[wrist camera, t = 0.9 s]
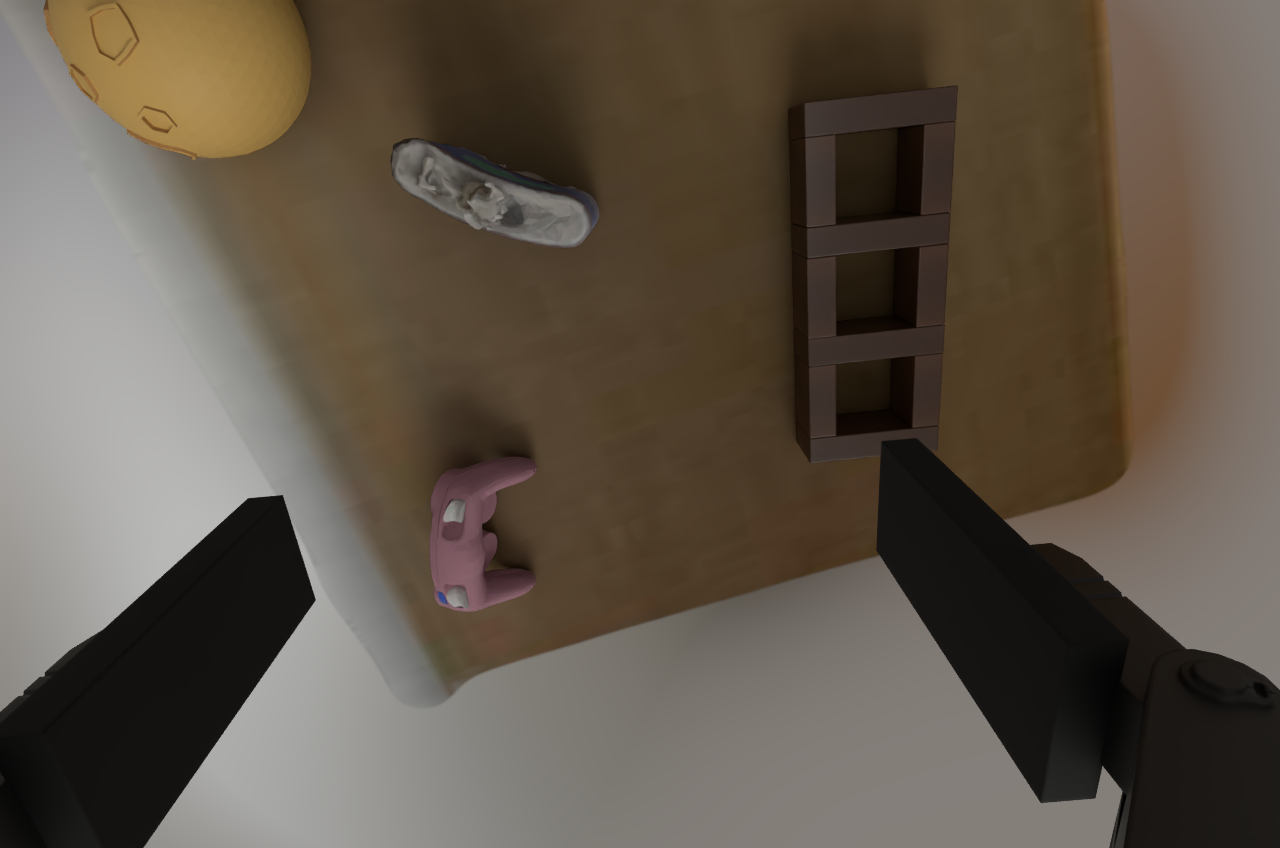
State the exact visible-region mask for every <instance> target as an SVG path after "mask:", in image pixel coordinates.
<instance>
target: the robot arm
mask: <svg viewBox="0 0 1280 848" xmlns="http://www.w3.org/2000/svg"><path fill="white" fill-rule="evenodd" d="M876 550H877V552H878V553H879V555H880V556H881V558H882V559H883V561H884V562H885V564H886V566H887V567H888V569H889V570H890V572H891V573H892V575H893V576H894V578H895V579H896V581H897V583H898V584H899V585H900V587H901V589H902V590H903V592H904V593H905V595H906V596H907V597H908V599H909V601H910V603H911V604H912V605H913V607H914V609H915V610H916V612H917V613H918V615H919V616H920V618H921V619H922V621H923V622H924V624H925V625H926V627H927V629H928V630H929V632H930V633H931V635H932V636H933V638H934V639H935V641H936V642H937V644H938V645H939V647H940V649H941V650H942V652H943V653H944V655H945V656H946V658H947V659H948V661H949V662H950V664H951V666H952V667H953V669H954V670H955V672H956V673H957V675H958V676H959V678H960V679H961V681H962V682H963V684H964V686H965V687H966V689H967V690H968V692H969V693H970V695H971V696H972V698H973V699H974V701H975V702H976V704H977V705H978V707H979V709H980V710H981V712H982V713H983V715H984V716H985V718H986V719H987V721H988V722H989V724H990V725H991V727H992V729H993V730H994V732H995V733H996V735H997V736H998V738H999V739H1000V741H1001V742H1002V744H1003V745H1004V747H1005V749H1006V750H1007V752H1008V753H1009V755H1010V756H1011V758H1012V759H1013V761H1014V762H1015V764H1016V765H1017V767H1018V769H1019V770H1020V772H1021V773H1022V775H1023V776H1024V778H1025V779H1026V781H1027V782H1028V784H1029V785H1030V787H1031V789H1032V790H1033V791H1034V793H1035V795H1036V796H1037V798H1038V799H1039V801H1040V802H1041V803H1045V802H1046V803H1047V802H1057V801H1070V800H1082V799H1093V798H1096V793H1097V788H1098V783H1099V779H1100V775H1101V770H1102V766H1103V767H1104V768H1105V769H1106V771H1107V772H1108V773H1109V774H1110V776H1111V777H1112V778H1113V779H1114V781H1115V782H1116V783H1117V784H1118V786H1119V787H1120V788H1121V790H1122V791H1123V792H1122V796H1121V800H1120V805H1119V809H1118V813H1117V818H1116V822H1115V826H1114V830H1113V834H1112V839H1111V843H1110V848H1280V690H1279V689H1278V688H1277V687H1276V686H1275V685H1274V684H1273V683H1272V682H1271V681H1270V680H1269V679H1268V678H1266V677H1265V676H1264V675H1262V674H1260V673H1259V672H1257V671H1255V670H1254V669H1252V668H1250V667H1248V666H1247V665H1245V664H1243V663H1240V662H1238V661H1235V660H1233V659H1230V658H1227V657H1225V656H1222V655H1219V654H1215V653H1210V652H1205V651H1200V650H1195V649H1185V647H1183V646H1182V645H1181V644H1180V643H1179V642H1178V641H1177V640H1175V639H1174V638H1173V637H1172V636H1171V635H1170V634H1168V633H1167V632H1166V631H1165V630H1163V628H1161V627H1160V626H1159V625H1158V624H1157V623H1156V622H1155V621H1154V620H1152V619H1151V618H1150V617H1149V616H1148V615H1147V614H1145V613H1144V612H1143V611H1142V610H1141V609H1140V608H1139V607H1137V606H1136V605H1135V604H1134V603H1133V602H1132V601H1130V600H1129V599H1128V598H1127V597H1122V595H1121V592H1120V591H1119V590H1118V589H1117V588H1115V587H1114V586H1113V585H1112V584H1111V583H1110V582H1109V581H1104V579H1103V576H1102V575H1101V574H1099V573H1098V572H1097V571H1096V570H1095V569H1094V568H1092V567H1091V566H1090V565H1089V564H1088V563H1087V562H1085V561H1084V560H1083V559H1082V558H1080V557H1078V556H1076V555H1074V554H1072V553H1070V552H1068V551H1066V550H1064V549H1062V548H1060V547H1058V546H1056V545H1054V544H1052V543H1046V544H1035V545H1029V544H1028V543H1027V542H1026V541H1025V540H1024V539H1023V538H1022V537H1021V536H1020V535H1019V534H1018V533H1017V532H1016V531H1015V530H1013V529H1012V528H1011V527H1010V526H1009V525H1008V524H1007V523H1006V522H1005V521H1004V520H1003V519H1002V518H1001V517H1000V516H999V515H998V514H997V513H996V512H994V511H993V510H992V509H991V508H990V507H989V506H988V505H987V504H986V503H985V502H984V501H983V500H982V499H981V498H980V497H979V496H978V495H977V494H975V493H974V492H973V491H972V490H971V489H970V488H969V487H968V486H967V485H966V484H965V483H964V482H963V481H962V480H961V479H960V478H959V477H957V476H956V475H955V474H954V473H953V472H952V471H951V470H950V469H949V468H948V467H947V466H946V465H945V464H944V463H943V462H942V461H941V460H940V459H938V458H937V457H936V456H935V455H934V454H933V453H932V452H931V451H930V450H929V449H928V448H927V447H926V446H925V445H924V444H923V443H922V442H920V441H919V440H918V439H917V438H910V439H899V440H888V441H881V461H880V483H879V505H878V527H877V549H876ZM315 600H316V599H315V596H314V593H313V590H312V587H311V583H310V580H309V577H308V574H307V571H306V568H305V564H304V561H303V558H302V555H301V552H300V549H299V545H298V542H297V539H296V536H295V533H294V530H293V526H292V523H291V520H290V517H289V513H288V510H287V507H286V504H285V501H284V498H283V495H280V496H269V497H258V498H248V499H247V500H246V501H245V502H244V503H242V504H241V505H240V506H239V507H238V508H237V509H236V510H235V511H234V512H233V513H231V514H230V515H229V516H228V517H227V518H226V519H225V520H224V521H223V522H221V523H220V524H219V525H218V526H217V527H216V528H215V529H214V530H213V531H212V532H210V533H209V534H208V535H207V536H206V537H205V538H204V539H203V540H202V541H201V542H199V543H198V544H197V545H196V546H195V547H194V548H193V549H192V550H191V551H190V552H188V553H187V554H186V555H185V556H184V557H183V558H182V559H181V560H180V561H178V562H177V563H176V564H175V565H174V566H173V567H172V568H171V569H170V570H169V571H167V572H166V573H165V574H164V575H163V576H162V577H161V578H160V579H159V580H157V581H156V582H155V583H154V584H153V585H152V586H151V587H150V588H149V589H148V590H146V591H145V592H144V593H143V594H142V595H141V596H140V597H139V598H138V599H137V600H136V601H134V602H133V603H132V604H131V605H130V606H129V607H128V608H127V609H125V610H124V611H123V612H122V613H121V614H120V615H119V616H118V617H117V618H116V619H114V620H113V621H112V622H111V623H110V624H109V625H108V626H107V627H106V628H104V629H103V630H102V631H100V632H99V633H97V634H95V635H94V636H92V637H90V638H89V639H87V640H86V641H84V642H82V643H81V644H79V645H77V646H76V647H74V648H72V649H71V650H70V651H68V652H67V653H66V654H65V655H64V656H63V657H62V658H61V659H59V660H58V661H57V662H56V663H55V664H54V665H53V666H52V667H50V668H49V669H48V670H47V671H46V672H45V676H44V677H39V678H38V679H37V680H36V681H35V682H34V683H32V684H31V685H30V686H29V687H28V688H27V689H26V690H25V691H24V694H23V696H18V697H17V698H16V699H14V700H13V701H12V702H11V703H10V704H9V705H8V706H7V707H6V708H4V709H3V710H2V711H1V712H0V848H143V847H144V846H145V845H146V843H147V842H148V840H149V839H150V837H151V836H152V835H153V833H154V832H155V830H156V829H157V827H158V826H159V825H160V823H161V822H162V820H163V819H164V817H165V816H166V814H167V813H168V812H169V810H170V808H171V807H172V806H173V804H174V803H175V802H176V800H177V799H178V797H179V796H180V794H181V793H182V791H183V790H184V789H185V787H186V786H187V784H188V783H189V781H190V780H191V779H192V777H193V776H194V774H195V773H196V771H197V770H198V769H199V767H200V766H201V764H202V763H203V761H204V760H205V758H206V757H207V756H208V754H209V753H210V751H211V750H212V748H213V747H214V746H215V744H216V743H217V741H218V740H219V738H220V737H221V735H222V734H223V733H224V731H225V730H226V728H227V727H228V725H229V724H230V723H231V721H232V720H233V718H234V717H235V715H236V714H237V712H238V711H239V710H240V708H241V707H242V705H243V704H244V702H245V701H246V699H247V698H248V697H249V695H250V694H251V692H252V691H253V689H254V688H255V687H256V685H257V683H258V682H259V681H260V679H261V678H262V677H263V675H264V673H265V672H266V671H267V669H268V668H269V666H270V665H271V663H272V662H273V661H274V659H275V658H276V656H277V655H278V653H279V652H280V650H281V649H282V648H283V646H284V645H285V643H286V642H287V640H288V639H289V638H290V636H291V635H292V633H293V632H294V631H295V629H296V628H297V626H298V625H299V623H300V622H301V620H302V619H303V617H304V616H305V615H306V613H307V612H308V610H309V609H310V608H311V606H312V605H313V603H314V602H315Z"/></svg>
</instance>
